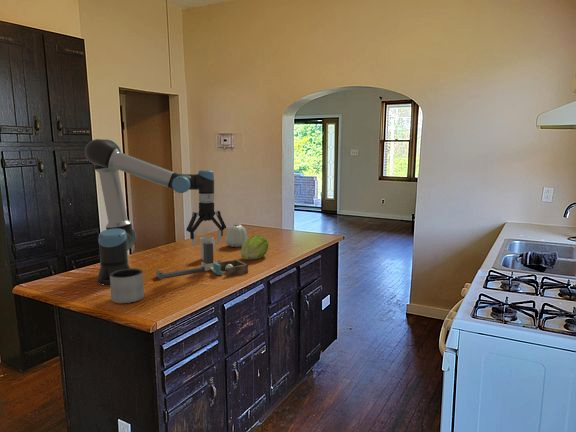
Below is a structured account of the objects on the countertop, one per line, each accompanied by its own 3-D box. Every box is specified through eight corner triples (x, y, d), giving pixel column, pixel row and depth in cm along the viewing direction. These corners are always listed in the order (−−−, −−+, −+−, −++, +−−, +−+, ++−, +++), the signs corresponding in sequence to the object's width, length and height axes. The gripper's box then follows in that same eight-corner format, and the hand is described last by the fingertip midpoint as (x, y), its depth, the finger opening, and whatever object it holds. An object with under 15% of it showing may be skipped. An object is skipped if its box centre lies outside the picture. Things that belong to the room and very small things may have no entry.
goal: (227, 276, 198) (227, 268, 198) (216, 270, 209) (216, 262, 208) (248, 272, 205) (247, 264, 204) (236, 266, 215) (236, 259, 214)
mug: (207, 261, 226) (206, 239, 224) (198, 259, 230) (197, 238, 228) (220, 257, 234) (219, 236, 232) (211, 255, 238) (210, 235, 236)
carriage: (213, 276, 198) (213, 248, 196) (201, 268, 211) (200, 242, 209) (225, 274, 202) (224, 247, 199) (212, 266, 214) (211, 241, 212)
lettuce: (228, 251, 223) (246, 240, 217) (246, 238, 243) (264, 228, 237) (241, 272, 224) (260, 261, 218) (258, 257, 243) (276, 247, 237)
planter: (104, 302, 165) (102, 275, 164) (126, 292, 177) (125, 267, 175) (129, 306, 161) (127, 278, 159) (151, 296, 172) (149, 270, 171)
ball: (226, 268, 202) (232, 263, 204) (222, 266, 206) (229, 261, 207) (229, 274, 204) (236, 269, 206) (226, 272, 207) (232, 267, 209)
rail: (159, 279, 194) (159, 273, 194) (156, 276, 198) (155, 270, 198) (224, 268, 213) (224, 262, 212) (220, 266, 217) (220, 260, 216)
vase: (244, 243, 269) (244, 222, 267) (249, 247, 256) (249, 226, 254) (223, 244, 265) (223, 223, 263) (227, 249, 252) (227, 227, 250)
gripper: (184, 204, 195) (185, 248, 198) (232, 201, 209) (232, 242, 212) (179, 202, 201) (180, 245, 204) (226, 199, 215) (226, 240, 218)
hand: (206, 244), depth 208 cm, fingers open, 13 cm apart
